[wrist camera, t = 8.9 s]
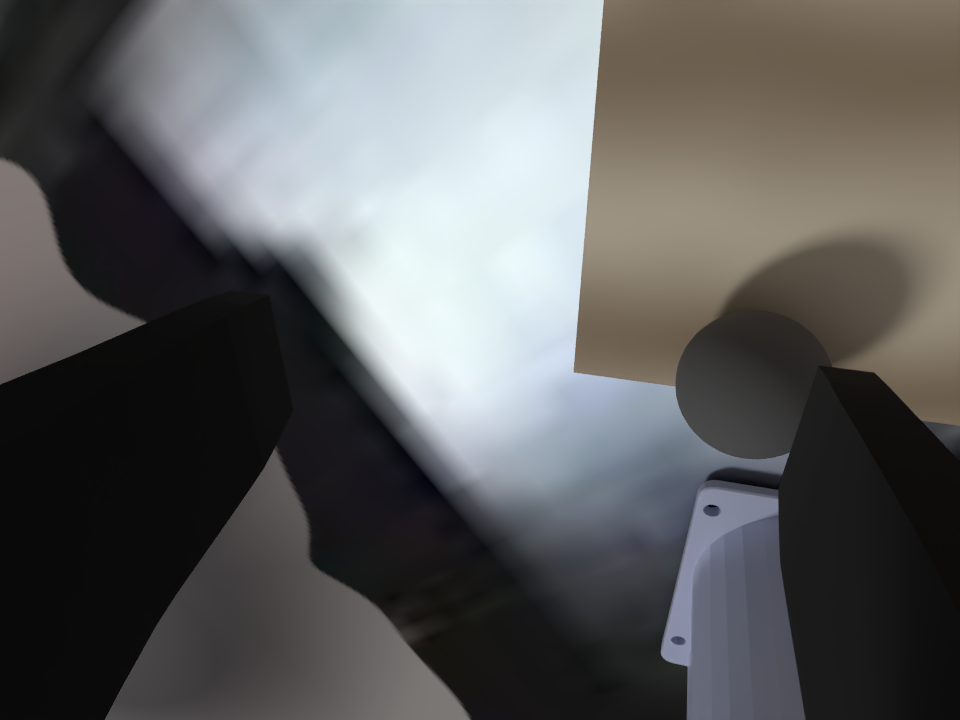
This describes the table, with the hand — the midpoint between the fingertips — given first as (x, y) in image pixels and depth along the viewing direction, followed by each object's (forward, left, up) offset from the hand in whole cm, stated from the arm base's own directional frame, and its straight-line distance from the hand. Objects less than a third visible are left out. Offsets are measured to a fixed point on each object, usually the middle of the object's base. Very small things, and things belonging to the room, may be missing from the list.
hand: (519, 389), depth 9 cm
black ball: (-3, -4, -6) cm, 8 cm away
